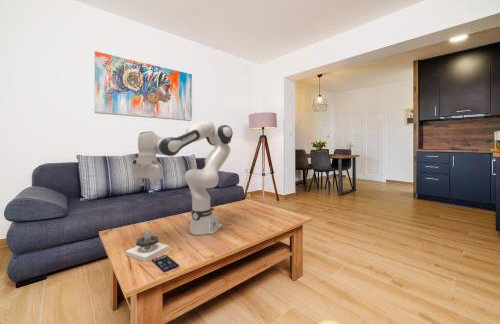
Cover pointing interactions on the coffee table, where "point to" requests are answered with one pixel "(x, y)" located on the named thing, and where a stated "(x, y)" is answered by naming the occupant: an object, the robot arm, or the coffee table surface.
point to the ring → (141, 242)
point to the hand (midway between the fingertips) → (147, 186)
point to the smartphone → (165, 263)
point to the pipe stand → (147, 249)
